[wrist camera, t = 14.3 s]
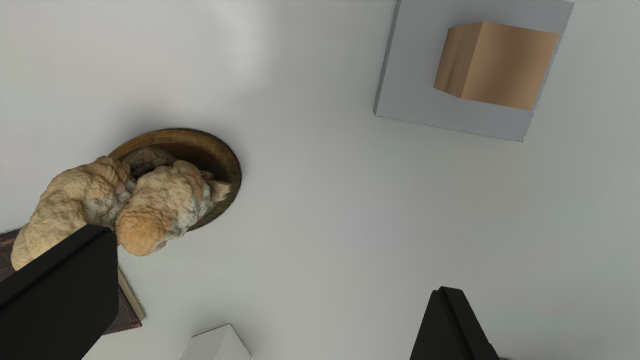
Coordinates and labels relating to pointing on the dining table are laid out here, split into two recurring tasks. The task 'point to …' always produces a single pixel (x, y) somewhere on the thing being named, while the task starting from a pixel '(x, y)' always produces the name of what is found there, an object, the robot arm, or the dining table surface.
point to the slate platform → (425, 53)
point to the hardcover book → (128, 304)
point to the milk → (216, 346)
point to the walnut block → (494, 63)
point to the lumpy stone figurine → (137, 194)
